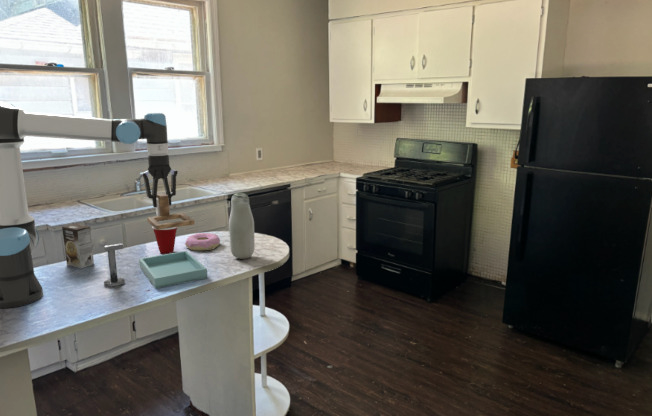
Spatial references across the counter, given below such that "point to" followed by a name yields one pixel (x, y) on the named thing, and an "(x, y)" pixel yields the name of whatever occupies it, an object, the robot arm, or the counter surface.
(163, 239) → the plastic cup
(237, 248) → the glass bottle
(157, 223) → the ring
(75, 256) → the coffee box
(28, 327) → the counter surface
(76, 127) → the robot arm
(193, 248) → the donut
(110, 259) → the grey metal stand
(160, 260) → the tray
